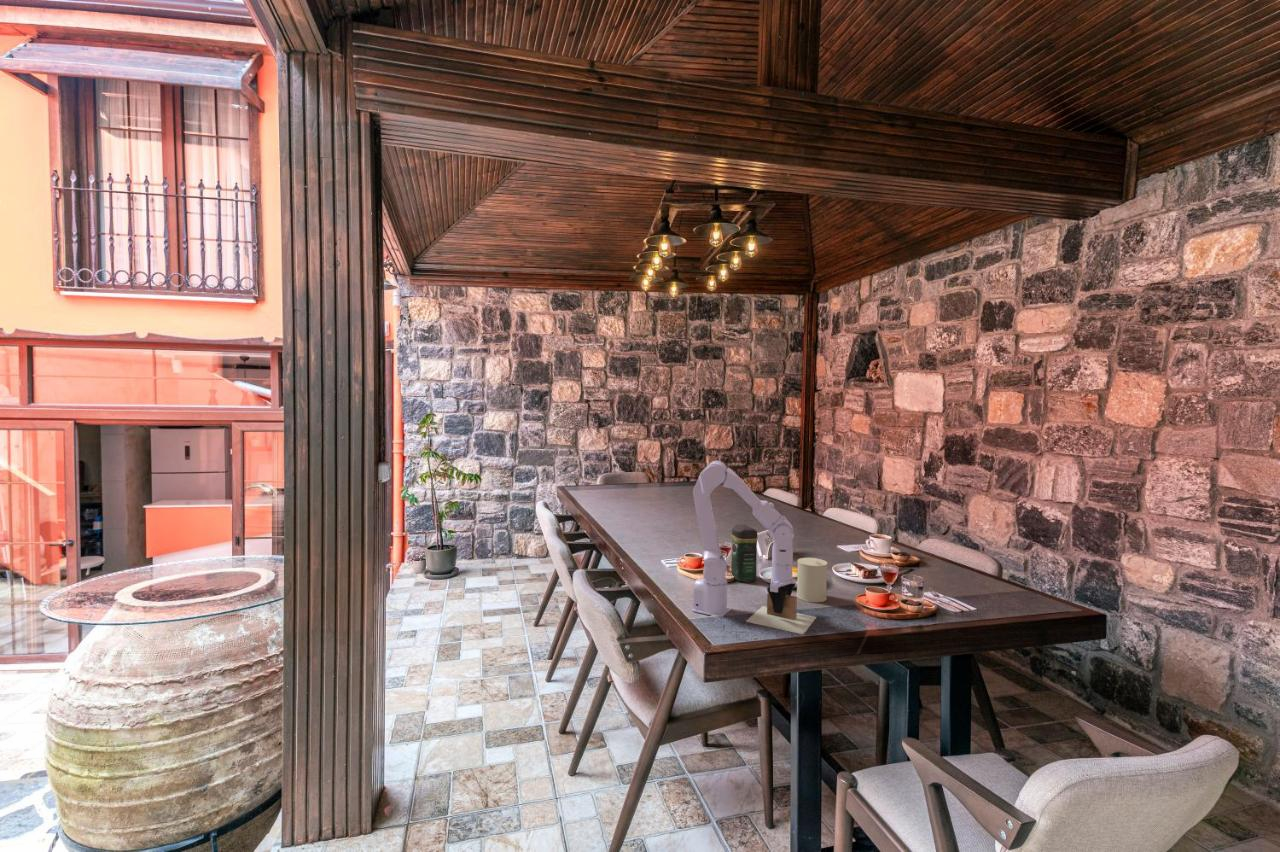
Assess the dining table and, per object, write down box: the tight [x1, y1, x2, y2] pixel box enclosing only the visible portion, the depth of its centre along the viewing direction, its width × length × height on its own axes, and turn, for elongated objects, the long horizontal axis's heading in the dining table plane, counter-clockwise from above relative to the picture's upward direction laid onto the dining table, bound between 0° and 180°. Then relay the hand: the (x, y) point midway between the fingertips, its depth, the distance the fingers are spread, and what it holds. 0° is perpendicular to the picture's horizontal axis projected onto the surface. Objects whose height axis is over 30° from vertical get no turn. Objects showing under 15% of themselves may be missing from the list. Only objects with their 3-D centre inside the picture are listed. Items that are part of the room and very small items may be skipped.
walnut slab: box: [766, 592, 798, 620], centre depth 163 cm, size 8×2×6 cm, turn 59°
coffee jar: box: [730, 524, 758, 583], centre depth 199 cm, size 10×8×19 cm
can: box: [795, 557, 828, 603], centre depth 181 cm, size 9×9×12 cm
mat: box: [745, 605, 817, 635], centre depth 161 cm, size 16×14×1 cm
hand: (780, 609), depth 164 cm, fingers open, 5 cm apart
